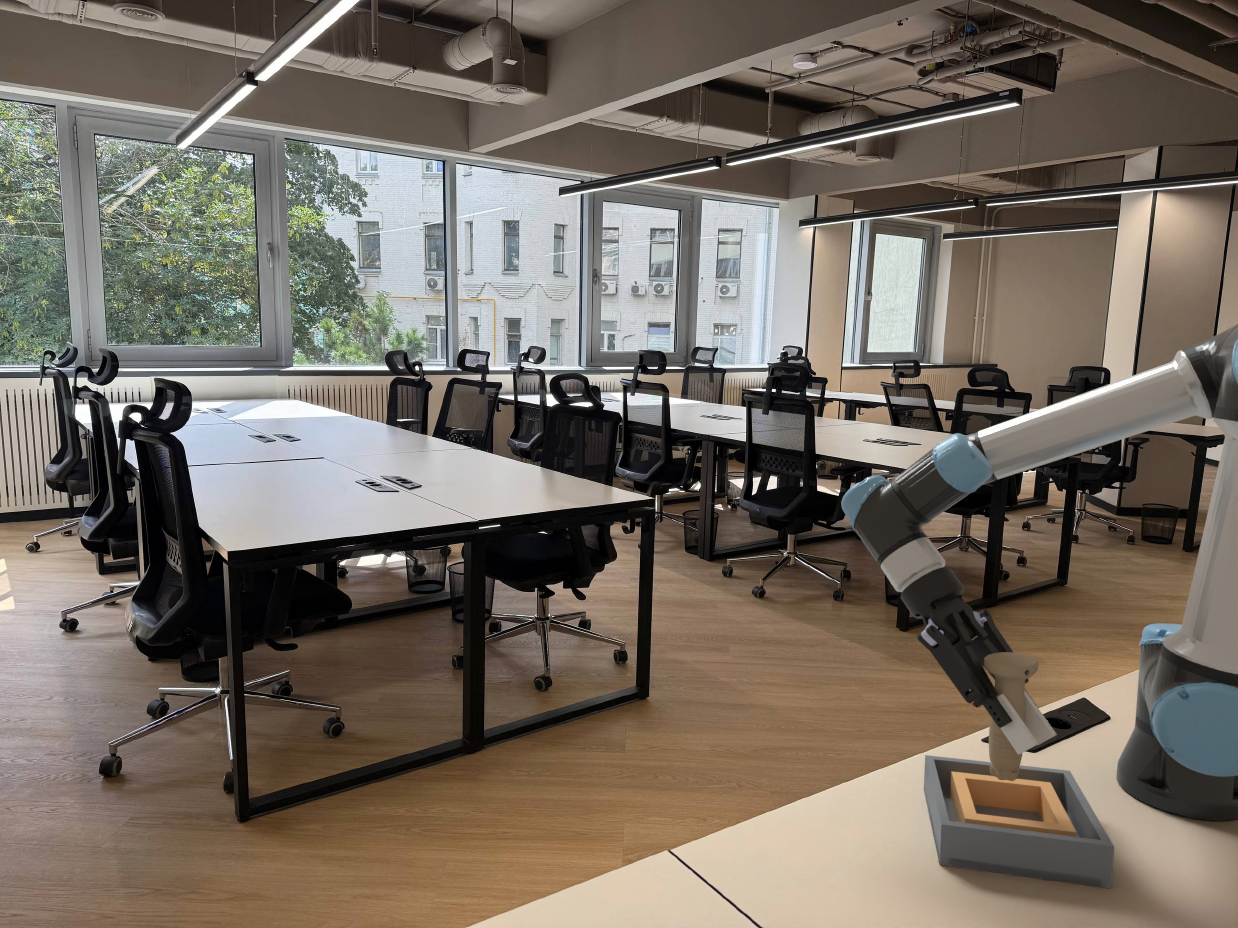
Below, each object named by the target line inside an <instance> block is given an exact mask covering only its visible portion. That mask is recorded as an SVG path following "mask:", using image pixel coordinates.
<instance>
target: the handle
mask: <svg viewBox="0 0 1238 928" xmlns="http://www.w3.org/2000/svg"><path fill="white" fill-rule="evenodd" d="M983 668H984V670H985V671H987V672H988V674H989V673H991V674H993V675H994V676H995V680H994V688H995V689H996V691H997V696H996V697H998V696H999V695H1001V694H1004V695H1005V696H1006V698H1007V699H1008V701H1009V702H1010V704H1011V705H1012V706H1013V708H1014V709H1015V711H1016V712H1017V714H1018V715H1019V716H1020V718H1021V719H1022V721H1023V722H1024V688H1025V685H1026V684H1025V680H1026V679H1027V678H1028V679H1029V678H1032V677H1033V676H1034V675H1035V674H1036V673H1037V672H1038V669H1039V659H1037V658H1035V657H1034V656H1031V655H1028V654H1025V653H1021V652H1014V651H1013V652H1000V653H994V654H989V655H987V656H986V657H985V658H984V667H983ZM989 720H990V722H989V727H988V728H989V729H988V754H989V755H988V756H989V757H988V758H989V762H992V764H991V765H990V773H991V774H992V776H995V777H997V778H998V779H999V780H1009V781H1014V780H1016V777H1017V776H1018V773H1019V766H1020V765H1021V762H1022V758H1023V753H1021V754H1019V755H1018V754H1017V752H1016V751H1015V749H1014V748H1013V746H1012V745H1011V743H1010V742H1009V740H1008V739H1007V737H1006V736H1005V734H1004V733H1003V731H1002V730H1001V729H1000V728H999V727H998V726H997V725H996V723H995V722H994V720H993V719H992V717H991V716H990V719H989Z"/></svg>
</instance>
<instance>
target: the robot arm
mask: <svg viewBox="0 0 1238 928" xmlns="http://www.w3.org/2000/svg"><path fill="white" fill-rule="evenodd" d="M1195 416H1197V417H1200V418H1203V419H1205V420H1211V419H1212V420H1213V422H1214V423H1215V424H1216V425H1217V426H1218V428H1219V429H1220V430H1221V431H1222V433H1223V435H1224V439H1223V440H1224V441H1223V444H1222V445H1223V446H1222V448H1221V449H1222V450H1221V454H1220V457H1219V462H1218V466H1217V467H1218V468H1217V472H1216V477H1215V479H1214V485H1213V489H1212V492H1211V497H1210V502H1209V505H1208V509H1207V510H1208V511H1207V513H1206V514H1207V515H1206V520H1205V524H1204V528H1203V533H1202V536H1201V541H1200V546H1199V549H1198V555H1197V557H1196V564H1195V567H1194V572H1193V577H1192V580H1191V583H1190V584H1191V585H1190V590H1189V593H1188V597H1187V603H1186V605H1185V606H1186V607H1185V610H1184V615H1183V620H1182V624H1179V623H1161V622H1160V623H1150V624H1148V625H1146V626H1145V627H1144V628H1143V629H1142V633H1141V634H1142V635H1141V639H1140V641H1139V642H1138V643H1139V644H1138V646H1139V647H1140V653H1139V654H1140V657H1139V665H1138V667H1139V668H1138V669H1139V670H1138V682H1137V692H1136V705H1135V707H1136V708H1135V723H1134V728H1133V730H1132V733H1131V734H1130V736H1129V739H1128V740H1127V743H1126V744H1125V746H1124V748H1123V750H1122V753H1121V754H1120V756H1119V758H1118V760H1117V764H1116V765H1117V766H1116V767H1117V768H1116V781H1117V783H1118V785H1119V786H1120V787H1121V788H1122V789H1123V790H1124V791H1125V792H1127V793H1128V794H1129V795H1131V796H1132V797H1134V798H1135V799H1138V800H1139V801H1141V802H1143V803H1145V804H1146V805H1150V806H1152V807H1154V808H1157V809H1159V810H1161V811H1162V810H1163V811H1165V812H1168V813H1171V814H1174V815H1178V816H1182V817H1186V818H1192V819H1198V820H1204V821H1205V820H1206V821H1232V820H1238V323H1237V324H1235V325H1234V326H1232V327H1229V328H1228V329H1226V330H1224V331H1222V332H1221V333H1218V334H1216V335H1214V336H1212V337H1210V338H1208V339H1206V340H1204V341H1201V342H1198V343H1196V344H1194V345H1191V346H1189V347H1185V348H1184V349H1180V350H1178V351H1177V352H1176V353H1175V355H1174V358H1173V359H1172V360H1171V361H1170V362H1167V363H1165V364H1162V365H1159V366H1156V367H1154V368H1151V369H1148V370H1145V371H1142V372H1139V373H1137V374H1134V375H1131V376H1128V377H1125V378H1122V379H1120V380H1117V381H1114V382H1112V383H1109V384H1105V385H1104V386H1101V387H1097V388H1095V389H1091V390H1090V391H1086V392H1084V393H1081V394H1078V395H1076V396H1072V397H1069V398H1067V399H1064V400H1061V401H1058V402H1056V403H1053V404H1050V405H1048V406H1045V407H1042V408H1039V409H1037V410H1034V411H1030V412H1027V413H1025V414H1023V415H1020V416H1017V417H1015V418H1011V419H1009V420H1006V421H1003V422H1000V423H997V424H995V425H992V426H989V427H986V428H984V429H980V430H978V431H975V432H973V433H969V434H967V435H964V434H962V433H959V432H958V433H957V432H956V433H954V434H951V435H950V436H948V437H947V438H946V439H944V440H942V441H940V442H939V443H937V444H936V445H935V446H933V448H931V449H930V450H928V452H927V453H925V454H924V455H922V456H921V457H920V458H919V459H917V460H916V461H915V462H913V463H912V464H911V465H910V466H909V467H907V468H906V469H904V471H902V472H901V473H900V474H898V475H897V476H895V477H894V478H892V479H891V480H887V479H886V478H885V477H884V476H882V475H871V476H868V477H866V478H864V479H863V480H862V481H860V482H857V483H855V484H854V485H853V486H851V487H850V488H849V489H848V490H847V491H846V492H845V494H844V495H843V496H842V499H841V501H840V503H841V509H842V511H843V513H844V515H845V516H846V518H847V519H848V521H849V523H850V525H851V528H852V530H853V532H854V533H856V534H857V535H858V537H859V538H860V539H861V542H862V543H863V544H864V546H865V547H866V549H867V550H868V552H869V553H870V554H871V556H872V557H873V559H874V560H875V561H876V563H877V564H878V566H879V567H880V568H881V570H882V571H883V573H884V574H885V576H886V578H887V579H888V581H889V582H890V584H891V586H893V588H894V590H895V591H896V592H899V593H901V594H900V600H902V603H903V604H904V605H905V606H906V609H907V610H908V611H909V612H910V614H911V616H912V617H913V618H914V619H917V620H919V619H920V620H921V619H922V620H923V621H922V622H923V625H924V627H925V628H924V630H923V631H921V632H920V633H918V634H917V636H916V637H917V640H918V641H919V642H920V643H921V644H922V646H924V647H925V648H926V649H927V650H928V651H929V652H930V653H931V654H932V656H933V658H935V659H934V660H936V661H937V663H938V664H939V666H940V667H941V669H942V670H943V672H944V673H945V674H946V676H947V677H948V678H949V680H950V681H951V683H952V684H953V685H954V687H955V688H956V690H957V691H958V692H959V694H960V695H961V696H962V698H963V699H964V701H965V702H967V703H968V704H972V706H974V708H978V709H979V708H980V707H982V706H983V707H984V709H985V710H986V711H987V713H988V715H989V716H990V718H991V717H992V719H993V720H994V722H995V723H996V725H997V726H998V727H999V728H1000V729H1001V730H1002V731H1003V733H1004V734H1005V736H1006V737H1007V739H1008V740H1009V742H1010V743H1011V745H1012V746H1013V748H1014V749H1015V751H1016V752H1017V754H1018V755H1019V754H1021V753H1022V754H1023V753H1025V752H1026V751H1029V750H1030V749H1032V748H1034V747H1036V746H1040V745H1041V744H1043V743H1044V742H1047V741H1048V740H1050V739H1052V738H1054V737H1056V736H1057V735H1058V734H1057V732H1056V731H1055V729H1054V728H1053V727H1052V726H1051V724H1050V723H1049V721H1048V720H1047V719H1046V717H1045V715H1043V713H1042V712H1041V709H1039V707H1038V705H1037V703H1036V702H1035V701H1034V699H1033V698H1032V696H1031V695H1030V694H1029V692H1028V691H1027V690H1026V688H1025V687H1024V722H1023V721H1022V719H1021V718H1020V716H1019V715H1018V714H1017V712H1016V711H1015V709H1014V708H1013V706H1012V705H1011V704H1010V702H1009V701H1008V699H1007V698H1006V696H1005V695H1004V694H1001V695H999V696H998V697H996V696H997V691H996V689H995V688H994V687H995V685H994V684H993V683H992V681H991V679H990V677H989V676H988V674H989V675H990V676H991V677H992V679H993V680H994V681H995V676H994V675H993V674H991V673H989V672H988V674H987V672H986V669H985V668H984V658H985V657H986V656H987V655H989V654H994V653H1000V652H1014V651H1013V649H1012V648H1011V646H1010V645H1009V643H1008V642H1007V641H1006V639H1005V638H1004V636H1003V634H1002V633H1001V631H1000V630H999V628H998V627H997V626H996V623H995V622H994V619H993V617H992V614H991V613H990V611H989V610H987V609H983V610H982V611H980V612H977V611H974V610H973V608H972V607H971V606H970V605H969V604H968V603H967V602H965V600H964V599H963V598H962V597H963V594H964V591H965V586H964V585H963V584H962V582H961V581H960V580H959V578H958V577H957V575H956V574H955V573H954V571H953V570H952V568H950V567H947V566H946V559H945V558H944V557H943V556H942V554H941V553H940V552H939V551H938V549H937V548H936V546H935V545H934V544H933V542H932V541H931V539H929V537H928V536H927V534H926V533H925V531H924V529H923V527H924V526H925V525H928V524H929V523H931V522H932V520H934V519H935V518H937V517H938V516H939V515H941V514H942V513H944V512H945V511H947V510H948V509H950V508H952V506H954V505H956V504H957V503H958V502H960V501H961V500H963V499H964V498H966V497H967V496H968V495H970V494H971V493H974V492H976V491H977V490H978V489H979V488H981V486H983V485H986V484H987V485H988V484H989V483H992V482H995V481H997V480H1000V479H1003V478H1006V477H1010V476H1013V475H1015V474H1020V473H1022V472H1024V471H1028V470H1031V469H1034V468H1038V467H1040V466H1043V465H1047V464H1050V463H1053V462H1057V461H1060V460H1062V459H1065V458H1067V457H1072V456H1075V455H1078V454H1080V453H1084V452H1086V451H1090V450H1093V449H1096V448H1100V447H1103V446H1106V445H1108V444H1111V443H1115V442H1118V441H1120V440H1124V439H1126V438H1130V437H1134V436H1136V435H1140V434H1143V433H1145V432H1149V431H1151V430H1155V429H1158V428H1162V427H1164V426H1168V425H1170V424H1173V423H1174V424H1175V423H1176V422H1180V421H1182V420H1185V419H1189V418H1192V417H1195ZM1029 680H1030V679H1029V678H1027V679H1026V680H1025V685H1026V684H1028V682H1029Z"/></svg>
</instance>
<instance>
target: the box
mask: <svg viewBox="0 0 1238 928" xmlns="http://www.w3.org/2000/svg"><path fill="white" fill-rule="evenodd" d="M991 764H992V762H991V761H984V760H975V759H964V758H956V757H947V756H946V757H945V756H936V755H928V754H927V755H926V754H925V755H924V773H923V774H924V775H923V777H924V778H923V792H924V797H925V802H926V807H927V811H928V812H927V813H928V817H929V821H930V826H931V831H932V836H933V840H934V845H935V849H936V853H937V854H936V855H937V859H938V864H939V866H947V867H953V868H954V867H955V868H959V869H960V868H963V869H969V870H976V871H983V872H990V873H998V874H1005V875H1010V876H1011V875H1013V876H1019V877H1027V878H1034V879H1042V880H1046V881H1047V880H1049V881H1054V882H1055V881H1056V882H1062V883H1069V884H1077V885H1085V886H1091V887H1097V888H1098V887H1099V888H1106V889H1111V888H1112V881H1113V879H1112V878H1113V864H1114V849H1115V846H1114V844H1113V842H1112V841H1111V839H1110V837H1109V835H1108V834H1107V832H1106V830H1105V828H1104V827H1103V825H1102V824H1101V821H1100V820H1099V818H1098V816H1097V815H1096V813H1095V811H1094V810H1093V808H1092V806H1091V804H1090V803H1089V801H1088V799H1087V797H1086V795H1085V794H1084V792H1083V791H1082V789H1081V787H1080V786H1079V784H1078V782H1077V781H1076V778H1075V777H1074V775H1073V773H1072V772H1071V770H1066V769H1059V768H1048V767H1039V766H1037V767H1036V766H1031V765H1021V764H1020V766H1019V773H1018V776H1017V777H1016V780H1014V781H1009V780H999V779H998V778H997V777H995V776H992V774H991V773H990V765H991Z"/></svg>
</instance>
